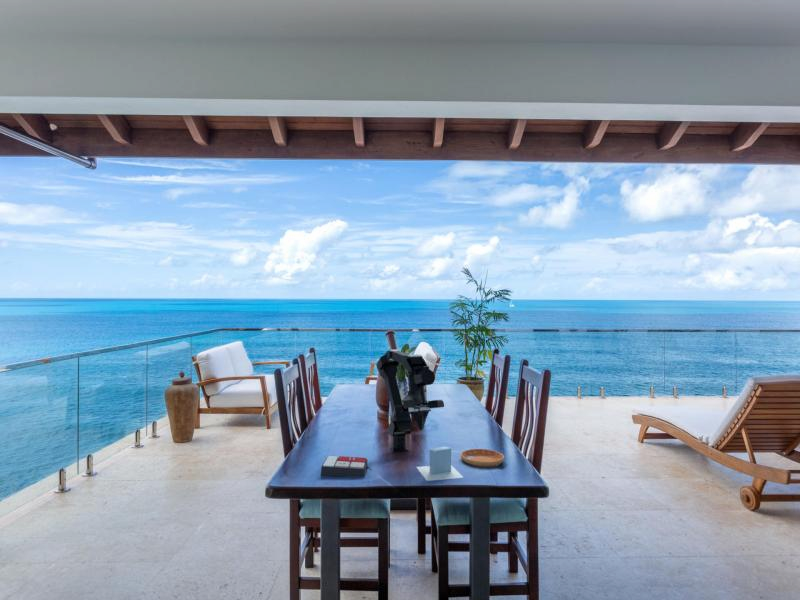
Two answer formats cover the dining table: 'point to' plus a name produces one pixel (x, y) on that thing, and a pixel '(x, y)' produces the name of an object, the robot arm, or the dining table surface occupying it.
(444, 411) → the dining table surface
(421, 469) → the mat
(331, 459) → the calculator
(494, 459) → the saucer
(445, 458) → the box
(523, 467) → the dining table surface
